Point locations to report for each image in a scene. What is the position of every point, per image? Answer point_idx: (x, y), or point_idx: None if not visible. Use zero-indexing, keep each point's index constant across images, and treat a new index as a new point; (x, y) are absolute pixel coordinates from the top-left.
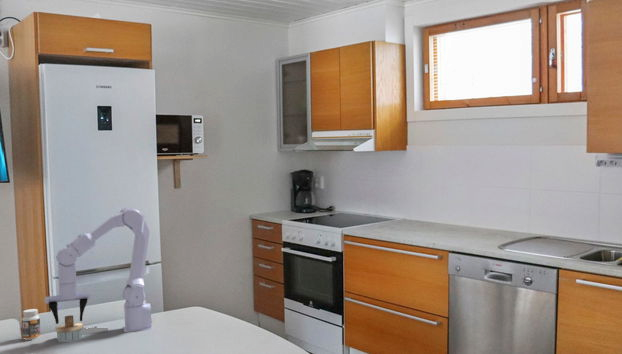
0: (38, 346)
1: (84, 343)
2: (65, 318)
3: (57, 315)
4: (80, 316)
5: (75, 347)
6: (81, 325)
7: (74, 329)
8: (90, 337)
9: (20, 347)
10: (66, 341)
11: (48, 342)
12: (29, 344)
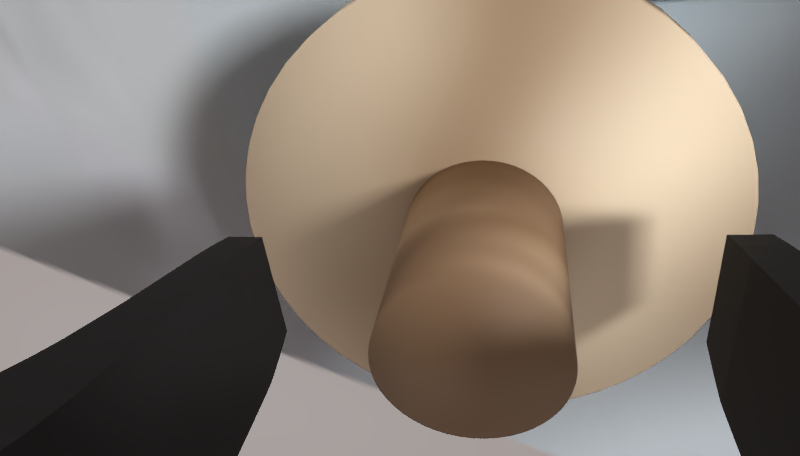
0: (181, 262)
1: (675, 357)
2: (401, 385)
3: (204, 418)
4: (753, 453)
5: (574, 437)
6: (712, 264)
7: (577, 387)
8: (794, 129)
9: (2, 222)
10: None
11: (236, 150)
12: (38, 145)
